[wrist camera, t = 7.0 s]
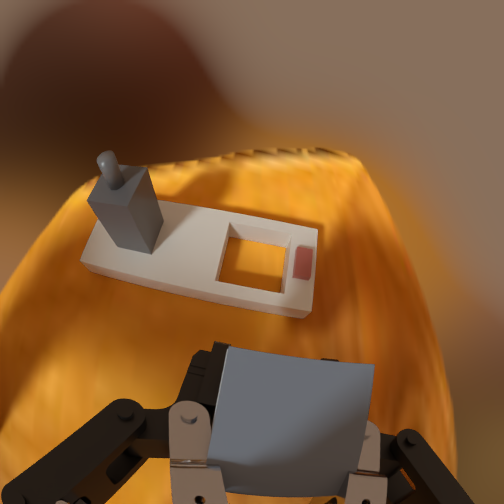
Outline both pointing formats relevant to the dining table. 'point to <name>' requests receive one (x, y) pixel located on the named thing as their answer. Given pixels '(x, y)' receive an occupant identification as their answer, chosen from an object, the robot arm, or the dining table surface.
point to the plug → (288, 423)
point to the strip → (189, 244)
